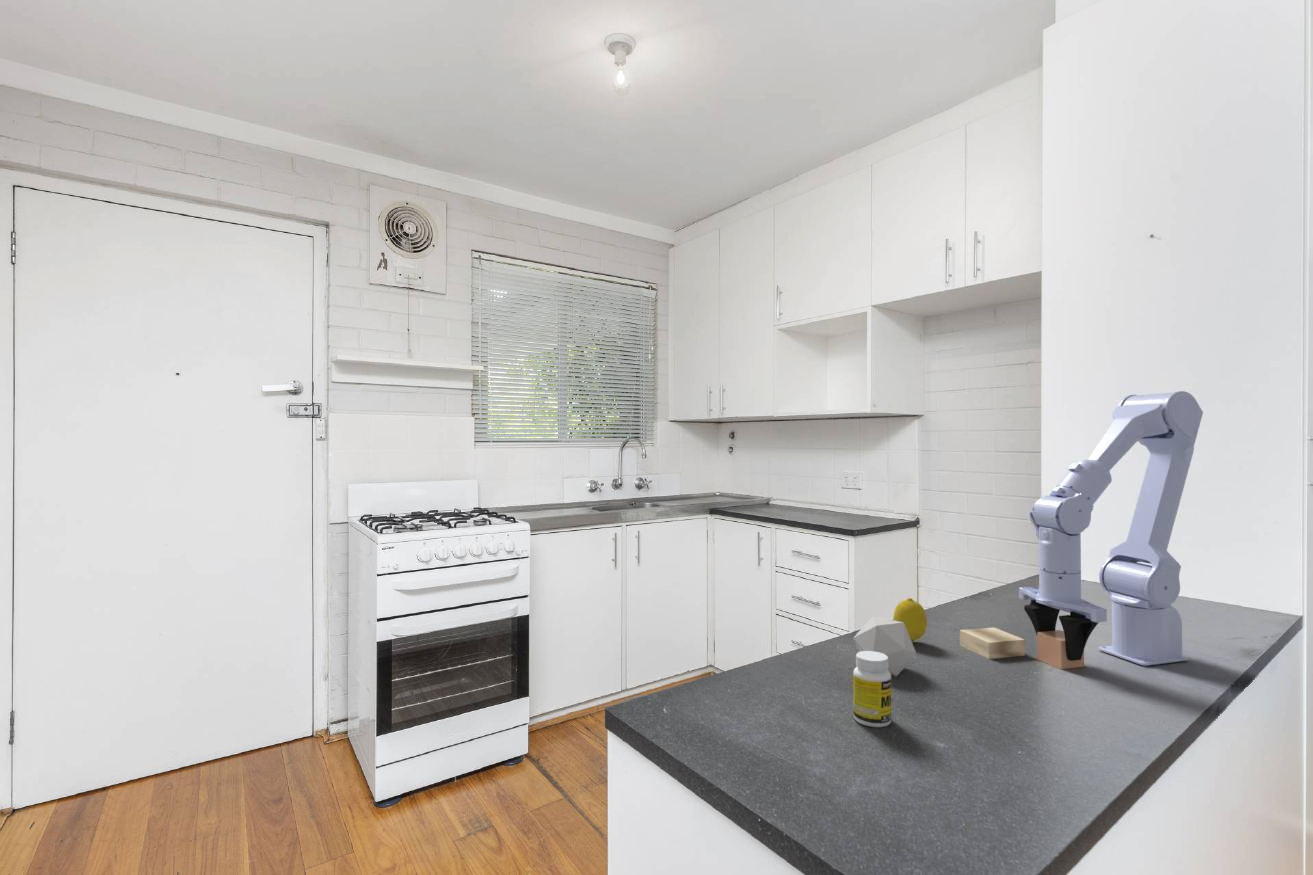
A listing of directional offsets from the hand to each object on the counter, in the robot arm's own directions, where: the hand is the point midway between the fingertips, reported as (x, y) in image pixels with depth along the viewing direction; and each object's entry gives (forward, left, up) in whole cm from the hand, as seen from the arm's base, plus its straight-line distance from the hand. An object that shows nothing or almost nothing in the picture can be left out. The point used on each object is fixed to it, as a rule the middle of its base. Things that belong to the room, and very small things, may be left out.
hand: (1060, 654), depth 101 cm
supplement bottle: (+41, +10, -2) cm, 42 cm away
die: (+29, -5, -2) cm, 29 cm away
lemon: (+17, -15, -2) cm, 23 cm away
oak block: (+6, -8, -2) cm, 10 cm away
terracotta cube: (0, 0, -1) cm, 1 cm away
